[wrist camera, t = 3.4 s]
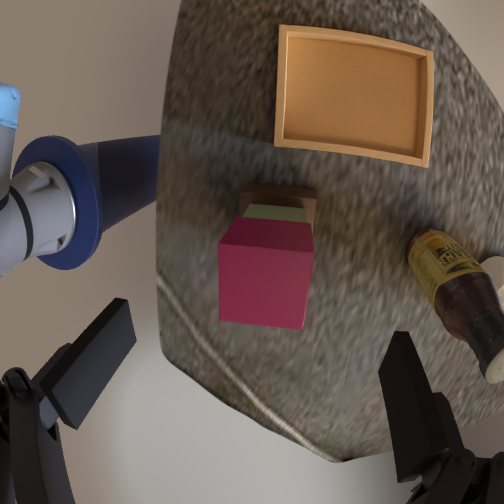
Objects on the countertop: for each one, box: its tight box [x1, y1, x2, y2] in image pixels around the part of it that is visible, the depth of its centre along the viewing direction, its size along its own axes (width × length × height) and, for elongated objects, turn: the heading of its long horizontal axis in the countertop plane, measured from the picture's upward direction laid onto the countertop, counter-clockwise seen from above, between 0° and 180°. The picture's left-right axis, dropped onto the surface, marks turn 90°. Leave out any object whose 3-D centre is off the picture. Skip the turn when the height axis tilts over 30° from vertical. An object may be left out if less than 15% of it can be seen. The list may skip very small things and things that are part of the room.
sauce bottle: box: [407, 228, 504, 383], centre depth 21 cm, size 6×6×20 cm
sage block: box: [242, 204, 307, 223], centre depth 25 cm, size 5×5×5 cm
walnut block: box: [239, 183, 317, 238], centre depth 29 cm, size 7×7×5 cm
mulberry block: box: [218, 217, 314, 330], centre depth 20 cm, size 6×6×6 cm
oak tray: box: [274, 25, 434, 168], centre depth 24 cm, size 16×13×3 cm
